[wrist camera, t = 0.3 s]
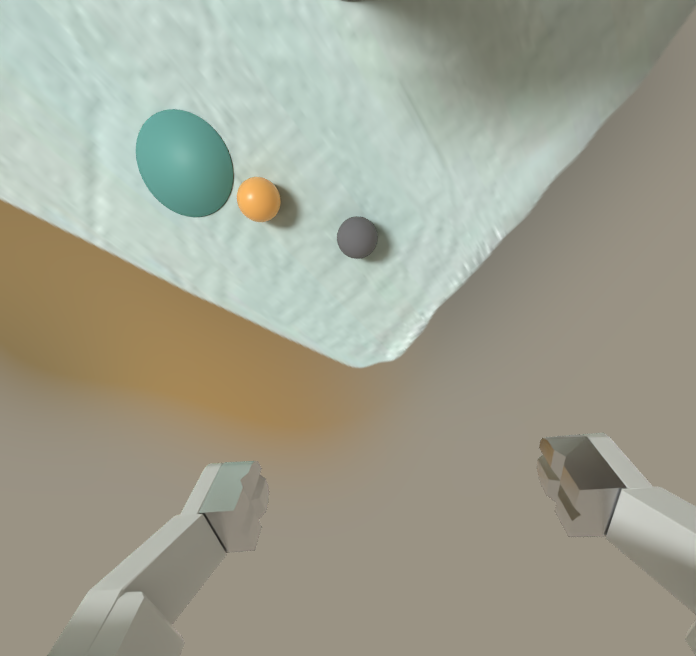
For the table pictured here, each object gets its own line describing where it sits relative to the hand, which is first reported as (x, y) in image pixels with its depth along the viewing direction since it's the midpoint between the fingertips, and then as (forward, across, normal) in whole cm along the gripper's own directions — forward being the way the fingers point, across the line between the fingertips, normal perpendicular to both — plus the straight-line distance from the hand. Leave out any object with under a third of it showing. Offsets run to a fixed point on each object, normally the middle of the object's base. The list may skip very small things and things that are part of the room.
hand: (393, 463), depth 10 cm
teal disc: (+45, +26, -11) cm, 53 cm away
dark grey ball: (+42, +3, +2) cm, 43 cm away
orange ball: (+42, +16, -5) cm, 45 cm away
